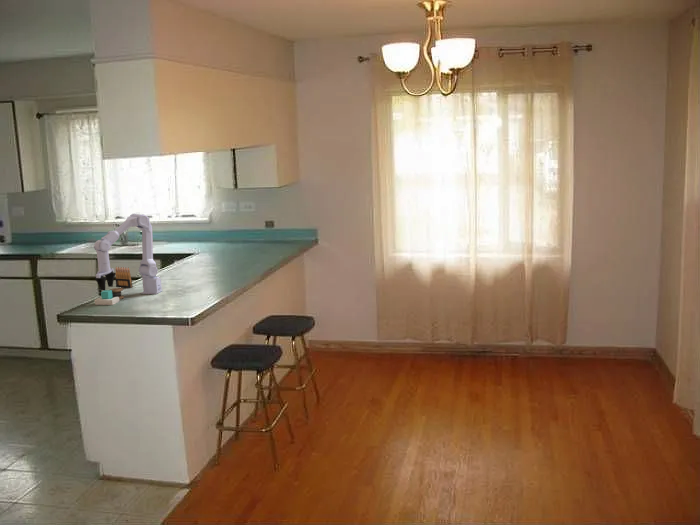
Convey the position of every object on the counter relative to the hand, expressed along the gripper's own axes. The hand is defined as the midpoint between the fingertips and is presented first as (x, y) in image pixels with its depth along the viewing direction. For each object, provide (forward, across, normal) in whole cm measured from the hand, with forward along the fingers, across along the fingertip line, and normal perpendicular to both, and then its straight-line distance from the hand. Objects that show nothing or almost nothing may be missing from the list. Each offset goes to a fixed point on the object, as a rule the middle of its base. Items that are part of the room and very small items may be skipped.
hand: (106, 288), depth 362 cm
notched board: (+8, +1, 0) cm, 8 cm away
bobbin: (+8, -9, 0) cm, 12 cm away
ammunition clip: (+8, -34, -9) cm, 36 cm away
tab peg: (+7, 0, 0) cm, 7 cm away
